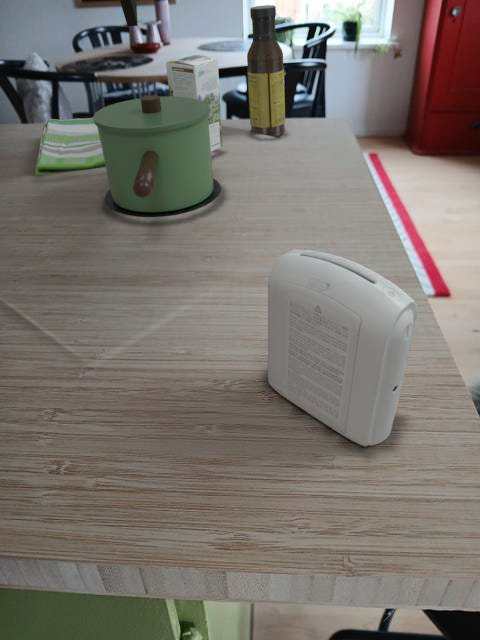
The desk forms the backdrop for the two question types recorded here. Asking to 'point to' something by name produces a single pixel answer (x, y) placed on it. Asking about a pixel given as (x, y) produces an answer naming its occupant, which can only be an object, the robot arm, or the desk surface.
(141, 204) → the pot
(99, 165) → the dish towel
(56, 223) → the desk surface
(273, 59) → the sauce bottle
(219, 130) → the syrup box
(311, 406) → the photo printer
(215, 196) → the trivet
